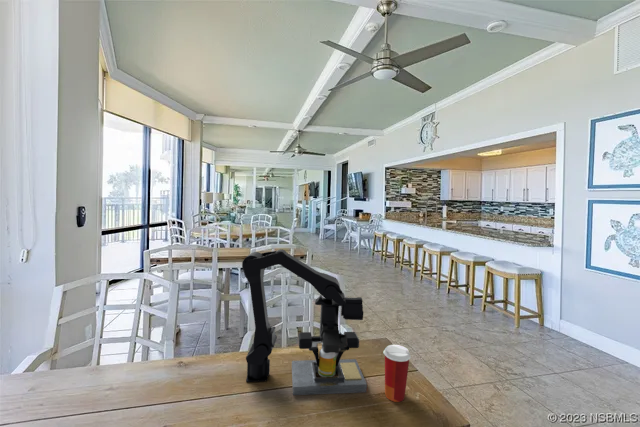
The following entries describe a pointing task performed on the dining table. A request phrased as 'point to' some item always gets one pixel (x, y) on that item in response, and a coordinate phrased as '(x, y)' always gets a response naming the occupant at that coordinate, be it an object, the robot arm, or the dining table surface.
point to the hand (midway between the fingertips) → (327, 366)
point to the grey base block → (327, 378)
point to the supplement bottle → (327, 363)
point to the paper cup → (396, 371)
